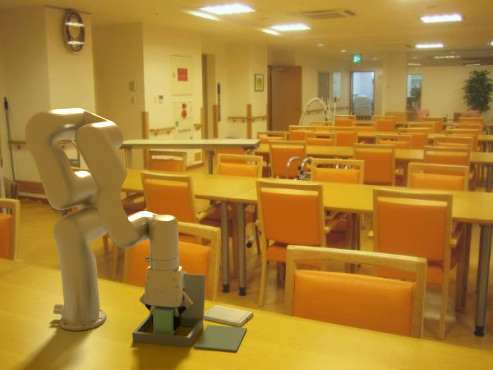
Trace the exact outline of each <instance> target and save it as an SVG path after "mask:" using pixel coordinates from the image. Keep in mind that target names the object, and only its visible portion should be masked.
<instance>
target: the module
mask: <svg viewBox="0 0 493 370" xmlns="http://www.w3.org/2000/svg"><path fill="white" fill-rule="evenodd" d="M174 316H175V313H174V310H173V308H171V307H160V306H156V307H155V308H154V309H153V324H152V325H153V327H154V328H153V333H156V334H168V335H175V333H176V331H174V323H173V317H174Z"/></svg>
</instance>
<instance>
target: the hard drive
mask: <svg viewBox="0 0 493 370" xmlns="http://www.w3.org/2000/svg"><path fill="white" fill-rule="evenodd" d="M253 316H254V312H253V311H248V310H244V309H243V310H242V309H239V308H233V307H228V306H224V305H218V304H215V305H213V306H212V307H211V308H209V309H208V310H207V311H205V312H204V318H203V320H207V321H211V322H217V323H221V324H224V325H225V324H227V325H229V326H233V327H240V328H242V326H243V325H244V324H246V323H247V321H249V319H251V318H252V317H253Z"/></svg>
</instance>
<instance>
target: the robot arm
mask: <svg viewBox="0 0 493 370" xmlns="http://www.w3.org/2000/svg"><path fill="white" fill-rule="evenodd" d="M72 139H74V142H75V145H76V148H77V150H78V151H79V154H80V156H81V157H82V160H83V161H84V164H85V165H86V167H87V168H88V171H86V170H75V171H74V170H73V167H72V166H71V162H70V159H69V157H68V154H67V153H66V152H65V151H64V149H63V148H62V147H61V146H60V145H59V144H58V142H59V141H65V140H72ZM24 140H25V144H26V147H27V149H28V151H29V153H30V155H31V158H32V159H33V161H34V164H35V166H36V169H37V173H38V175H39V179H40V181H41V184H42V188H43V189H44V190H43V191H44V193H45V196H46V199H47V201H48V204H49V205H50V207H52V208H53V209H55V210H59V211H63V210H68V209H71V208H74V207H76V209H77V210H74V211H73V212H70V213H68V214H65V215H63V216H62V217H61V218H59V219H58V220H57V221H56V223H55V225H54V227H53V232H52V233H53V239H54V242H55V245H56V248H57V252H58V257H59V258H58V260H59V266H60V267H59V268H60V273H61V274H60V275H61V286H62V294H63V295H62V297H63V304H60V303H56V304H55V305H54V306H53V314H54V315H60V316H61V317H60V319H59V326H60V327H61V328H62V329H64V330H67V331H73V332H75V331H76V332H77V331H86V330H90V329H93V328H96V327H99V326H100V325H101V324H103V323H104V322H106V319H107V313H106V312H105V311H104V310H103V309H101V305H100V291H99V279H98V268H97V259H96V255H95V253H94V251H93V249H92V248H91V243H92V242H93V241H96V240H98V239H100V238H102V237H103V236H105V235H106V234H107V236H109V238H110V239H111V241H112V242H113V243H114V244H115V246H118V247H119V248H122V249H129V248H132V247H134V246H136V245H138V244H140V243H141V242H144V241H146V240H148V244H149V246H148V247H149V256H145V258H144V262H145V263H149V266H148V267H147V268H146V274H145V282H144V293H143V294H142V295H141V296H140V297H139V302H140V303H141V304H142V305H144V307H145V308H146V309H147V310H148V311H149V314H152V324H151V325H153V309H154V308H155V307H156V306H160V307H171V308H173V310H174V313H175V316H174V317H173V323H174V331H175V332H176V331H178V330H179V328H180V327H182V326H181V314H182V313H183V312H184V311H185V310H186V309H188V308H189V307H191V306H192V304H193V302H192V300H191V299H190V298H189V297H188V295H187V294H186V290H185V281H184V275H183V271H184V270H183V267H182V265H181V266H180V250H179V249H180V242H179V241H180V240H179V221H178V219H177V217H176V216H175V215H171V214H157V213H155V212H151V211H146V210H140V211H136V212H135V213H132V214H129V215H127V213H126V211H125V209H124V207H123V203H122V200H121V191H122V188H123V185H124V183H125V181H126V178H127V177H128V170H127V168H126V166H125V164H124V163H123V161H122V158H121V157H120V155H119V153H118V150H120V149H121V147H122V146H123V143H124V134H123V131H122V129H121V128H120V127H119V126H118V125H117V124H116V123H115V122H114V121H111V120H110V119H106V118H104V117H102V116H99V115H98V114H95V113H92V112H91V111H88V110H86V109H82V108H79V107H64V108H48V109H43V110H40V111H38V112H35V113H34V114H33V115H31V116H30V118H29V119H28V121H27V122H26V125H25V128H24ZM182 301H184V302H185V304H184V305H183V306H181V304H182ZM153 329H154V327H153Z"/></svg>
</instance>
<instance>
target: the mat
mask: <svg viewBox="0 0 493 370" xmlns="http://www.w3.org/2000/svg"><path fill="white" fill-rule="evenodd" d="M247 331H248V329H247V327H239V326H226V325H215V324H207V325H206V327H205V329H204V330H203V331H202V333H201V334H200V336H199V338H198V339H197V341H196V343H195V344H194V345H193V348H194V349H201V350H202V349H203V350H214V351H224V352H233V353H234V352H235V353H237V352H238V350H239V347H240V346H241V343H242V341H243V339H244V337H245V334H246V333H247Z"/></svg>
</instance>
